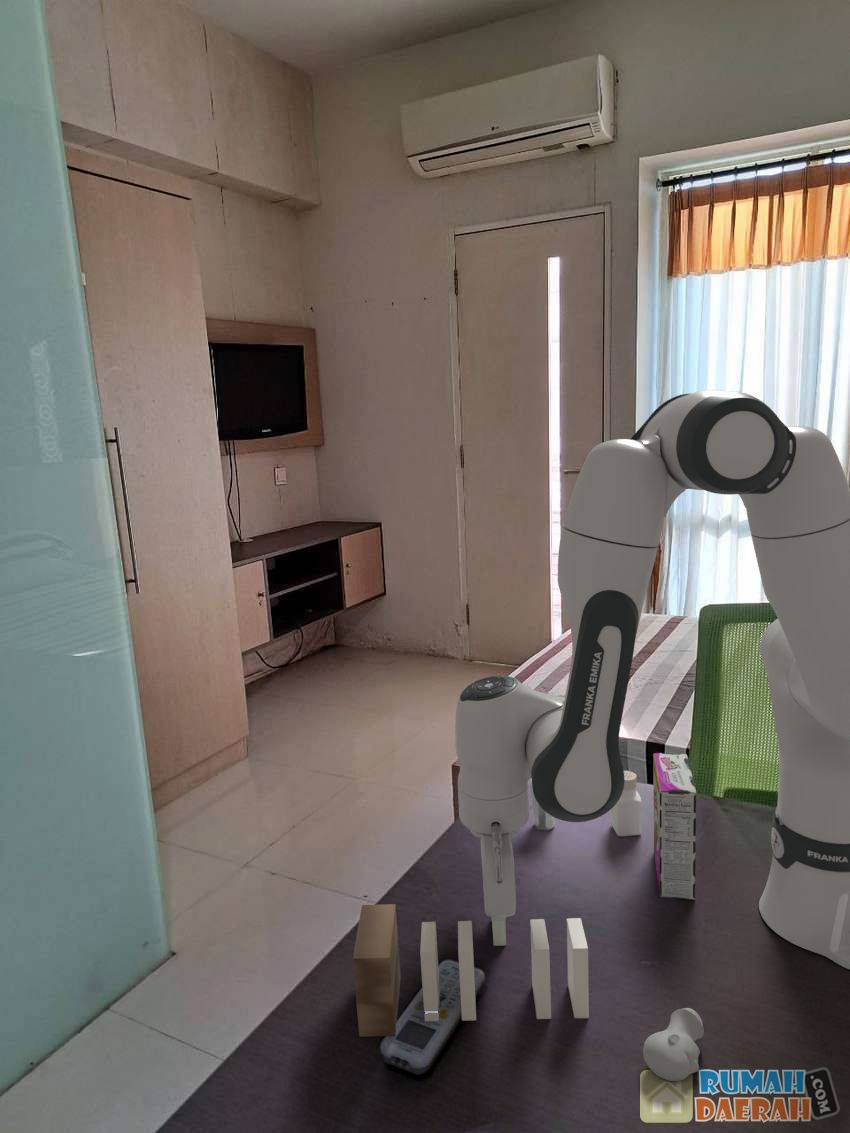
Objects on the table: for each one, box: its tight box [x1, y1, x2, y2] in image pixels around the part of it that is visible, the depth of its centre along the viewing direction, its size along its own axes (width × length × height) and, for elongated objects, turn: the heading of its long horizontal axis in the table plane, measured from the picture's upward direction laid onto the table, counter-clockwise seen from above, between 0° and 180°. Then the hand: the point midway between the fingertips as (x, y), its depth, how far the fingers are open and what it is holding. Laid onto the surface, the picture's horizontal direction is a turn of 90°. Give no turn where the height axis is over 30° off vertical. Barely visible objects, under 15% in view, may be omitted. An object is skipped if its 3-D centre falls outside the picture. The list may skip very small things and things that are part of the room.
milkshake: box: [528, 779, 556, 832], centre depth 125 cm, size 4×5×10 cm
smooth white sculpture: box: [642, 1007, 705, 1082], centre depth 81 cm, size 4×8×5 cm
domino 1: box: [419, 921, 441, 1022], centre depth 89 cm, size 2×5×9 cm, turn 178°
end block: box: [352, 903, 402, 1038], centre depth 89 cm, size 4×9×10 cm, turn 178°
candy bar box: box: [652, 752, 697, 901], centre depth 109 cm, size 11×5×16 cm, turn 168°
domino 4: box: [529, 918, 552, 1020], centre depth 89 cm, size 2×5×9 cm, turn 178°
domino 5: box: [566, 917, 590, 1019], centre depth 89 cm, size 2×5×9 cm, turn 178°
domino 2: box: [457, 920, 477, 1022], centre depth 89 cm, size 2×5×9 cm, turn 178°
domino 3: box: [491, 918, 507, 947], centre depth 101 cm, size 2×5×9 cm, turn 178°
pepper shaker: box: [610, 770, 643, 837], centre depth 122 cm, size 4×4×10 cm
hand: (497, 900), depth 101 cm, fingers closed on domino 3, 5 cm apart
